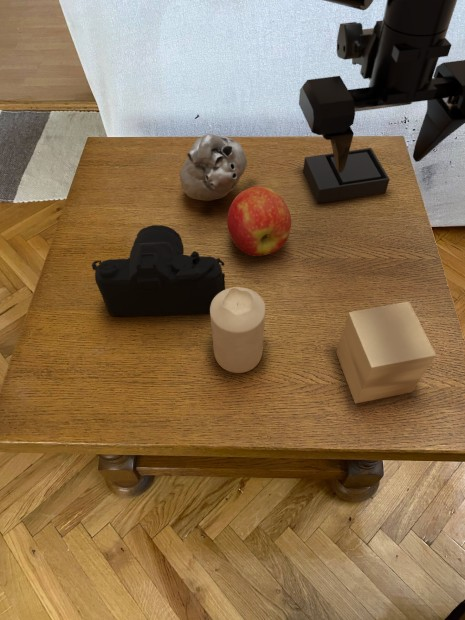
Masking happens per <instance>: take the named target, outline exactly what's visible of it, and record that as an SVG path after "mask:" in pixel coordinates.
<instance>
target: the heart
mask: <svg viewBox="0 0 465 620" xmlns="http://www.w3.org/2000/svg"><path fill="white" fill-rule="evenodd" d="M192 144H193V145H192V146H191V148H190V150H189V151H187V152H186V156H187V158H186V159H185V161H184V163H183V164H182V166H181V169H180V172H179V182H180V186H181V190H182V191H183V193H185V195H186V196H187V197H189V198H190V199H193V200H199V201H205V202H206V201H207V202H209V201H210V202H211V201H214V200H219V199H222V198H224V197H226V196H228V193H230V192H232V191H234V189H235V188H237V185H238V184H239V181H240V179H241V177H242V176H243V175H244V173H245V171H246V169H247V164H248V160H247V156H246V154H245V151H244V149H243V146H242V144H241V143H240V142H238V141H236V140H235V139H233V138H230V137H228V136H224V135H216V134H211V133H206V134H204V135H202V137H198V138H197V139H196V140H195V141H194V143H192Z"/></svg>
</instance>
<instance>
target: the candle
mask: <svg viewBox="0 0 465 620" xmlns="http://www.w3.org/2000/svg"><path fill="white" fill-rule="evenodd" d="M209 314H210V315H209V317H210V326H211V327H210V328H211V337H212V348H213V354H214V358H215V361H216V362H217V364H218V365H219V366H220V367H221V368H222V369H224V371H227V372H229V373H234V374H242V373H246V372H249V371H251V370H253V369H254V368H256V367H257V365H258V364H259V363H260V361H261V359H262V358H263V357H262V356H263V349H264V337H265V323H266V304H265V302H264V299H263V297H261V296H260V294H259V293H258V292H256V291H255V290H252V289H250V288H247V287H243V286H233V287H228V288H225V290H223V291H221V292H220V293H219V294H217V295H216V296H215V298H214V299H213V301H212V303H211V306H210V313H209Z"/></svg>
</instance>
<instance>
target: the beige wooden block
mask: <svg viewBox="0 0 465 620" xmlns="http://www.w3.org/2000/svg"><path fill="white" fill-rule="evenodd" d="M335 353H336V356H337V359H338V361H339V364H340V367H341V369H342V372H343V375H344V377H345V380H346V383H347V386H348V389H349V391H350V393H351V396H352V399H353V402H354V404H359V403H365V402H370V401H376V400H380V399H385V398H390V397H395V396H400V395H405V394H410V393H413V391H414V390H415V388H417V385H418V384H419V382H420V381H421V380H422V378H423V376H424V375H425V373H426V372H427V370H428V369H429V368H430V366H431V364H432V362H433V361H434V360H435V358H436V357H437V353H436V351H435V349H434V348H433V346H432V343H431V342H430V340H429V338H428V335H427V333H426V332H425V330H424V328H423V326H422V323H421V322H420V320H419V318H418V316H417V314H416V312H415V311H414V308H413V306H412V304H411V302H410V301H409V300H408V301H403V302H397V303H392V304H386V305H381V306H376V307H375V306H374V307H369V308H365V309H364V308H363V309H359V310H358V309H357V310H353V311H348V313H347V317H346V320H345V322H344V326H343V329H342V332H341V336H340V338H339V341H338V345H337V348H336V351H335Z"/></svg>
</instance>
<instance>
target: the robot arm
mask: <svg viewBox="0 0 465 620" xmlns="http://www.w3.org/2000/svg"><path fill="white" fill-rule="evenodd" d="M323 1H324V2H328V3H332V4H336V5H341V6H344V7H348V8H352V9H356V10H361V11H365V10H367V9H369V8H370V6H371V5H372V3H373V2H374V0H323ZM457 2H458V0H386V3H385V9H384V12H383V17H382V20H376V21H375V24H374V26H373V27H372V28H363V23H361V22H358V21H351V22H344V23H343V22H342V23H339V28H338V33H337V38H336V55H337V57H338V58H339V59H342V60H344V61H345V60H351V64H352V65H354V66H355V65H359V66H360V72H359V74H360V76H361V77H362V78H363V80H369V83H368V86H366V87H359V88H351V89H348V87H347V86H346V84H345V82H344V80H343V79H342V77H341V76H340V75H335V76H327V77H319V78H318V77H317V78H311V79H307V80H306V81H305V82H304V84H302V86H301V87H300V89H299V96H298V97H299V98H298V105H299V108H300V110H301V112H302V114H303V116H304V119H305V121H306V123H307V125H308V127H309V129H310V131H311V133H313V134H315V135H317V136H322V138H323V139H325V140H327V141H330V145H331V150H332V153H333V154H334V159H335V164H336V168H337V170H338V172H339V173H342V172H343V170H344V168H345V165H346V162H347V158H348V154H349V151H351V146H352V144H353V143H352V142H353V138H354V134H355V132H354V131H353V129H352V127H351V126H353V124H354V122H355V117H356V112H363V111H370V110H378V109H385V108H392V107H399V106H401V107H402V106H409V105H412V104H413V103H418V102H426V112H425V114H424V118H423V121H422V122H421V123H422V124H421V126H420V129H419V133H418V134H417V138H416V141H415V144H414V148H413V153H412V158H413V160H414V161H415V162H417V163H418V162H421V161H422V160H423V159H424V158H425V157H426V156H427V155H428V154H430V153H431V152H432V151H433V150H434V149H435V148H436V147H437V146H438V145H440V143H442V142H443V141H444V140H445V139H447V138H448V137H449V136H450V135H451V134H453V133H454V132H456V131H457V130H458V129H459V128H461V127H462V126H463V125H464V124H465V59H462V60H461V59H460V60H454V61H446V62H442V63H440V64H439V65H438V61H439V59H440V58H443V57H444V58H445V57H446V58H447V57H449V54H450V51H451V48H452V44H451V42H450V41H449V40H448V38H447V37H446V36H447V33H448V31H449V27H450V24H451V21H452V18H453V14H454V11H455V9H456V5H457Z"/></svg>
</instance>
